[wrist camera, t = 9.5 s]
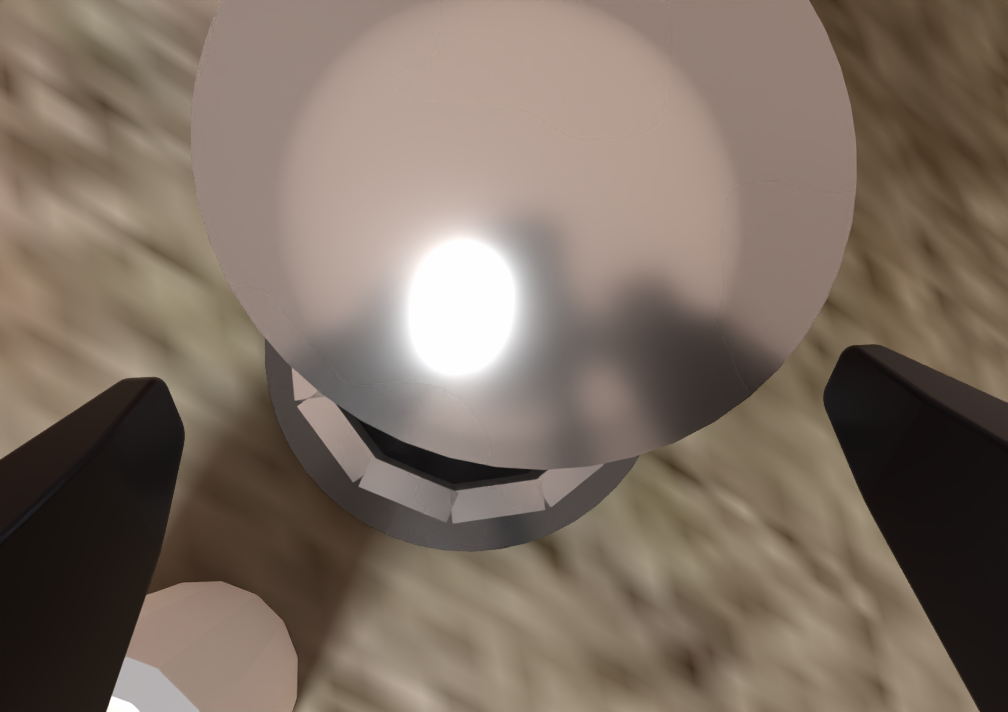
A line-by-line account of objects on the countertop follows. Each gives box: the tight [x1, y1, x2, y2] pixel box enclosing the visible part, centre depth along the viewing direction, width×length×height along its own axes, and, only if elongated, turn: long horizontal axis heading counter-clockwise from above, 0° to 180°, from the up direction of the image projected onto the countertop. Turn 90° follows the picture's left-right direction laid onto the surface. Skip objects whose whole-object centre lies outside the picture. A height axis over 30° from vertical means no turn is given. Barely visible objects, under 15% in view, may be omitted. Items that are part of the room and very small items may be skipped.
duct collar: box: [265, 338, 639, 552], centre depth 17 cm, size 12×12×3 cm
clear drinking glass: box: [191, 0, 857, 470], centre depth 11 cm, size 6×6×13 cm
